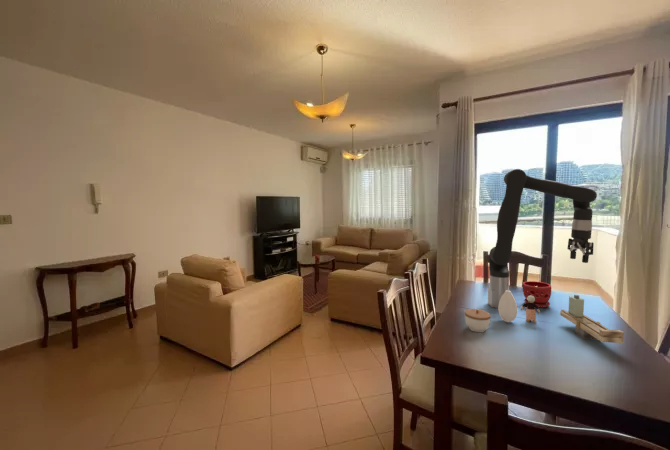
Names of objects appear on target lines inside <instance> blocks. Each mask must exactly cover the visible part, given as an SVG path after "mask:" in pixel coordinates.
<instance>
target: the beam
mask: <svg viewBox="0 0 670 450" xmlns="http://www.w3.org/2000/svg"><path fill="white" fill-rule="evenodd" d="M568 311H569V310H565V309H560V313H559V315H560V316H561V317H563V318H564V319H566V320H567V321H569V322H570V323H572V324H573V325H574V326H575V330H574V331H575V334H576V335H577V336H578V337H580V338H581V339H583V340H598V341H600V342H601V343H614V344H624V338H625V336H624V334H625V332H624V331H622V330H620V329H609V327H606V326H605V325H603V324H601V322H599V321H595V319H593V318H590V317H589V316H587V315H585V313H583V317H575V316H573V315H572V314H570V313H568Z"/></svg>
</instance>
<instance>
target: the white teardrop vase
mask: <svg viewBox="0 0 670 450" xmlns="http://www.w3.org/2000/svg"><path fill="white" fill-rule="evenodd" d="M497 310H498V314H499V317H500V318H501V320H503V321H504V322H505V323H512V322H513V321H514V320H516V318H517V315H518V305H517V301H516V299H515V297H514V295H513V293H512V291H511V290H510V285H509V286H508V290H506V291H505V293H504V294H503V295H502V297H501V299H500V301H499V306H498V308H497Z"/></svg>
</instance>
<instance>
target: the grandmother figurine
mask: <svg viewBox="0 0 670 450" xmlns="http://www.w3.org/2000/svg"><path fill="white" fill-rule="evenodd" d="M527 300H528V302H529V303H525V302H524V303H523V304H522V305H521V307H520V309H521V310H524V309H526V310H525V321H526V322H528V323H529V322H531V323H538V321H537V319H536V317H537V313H540V314H541V310H540V307H538V306H537V305H536V304H534V303H533V302H534V301H535V297H534V296H528V297H527ZM536 311H537V313H536Z"/></svg>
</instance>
